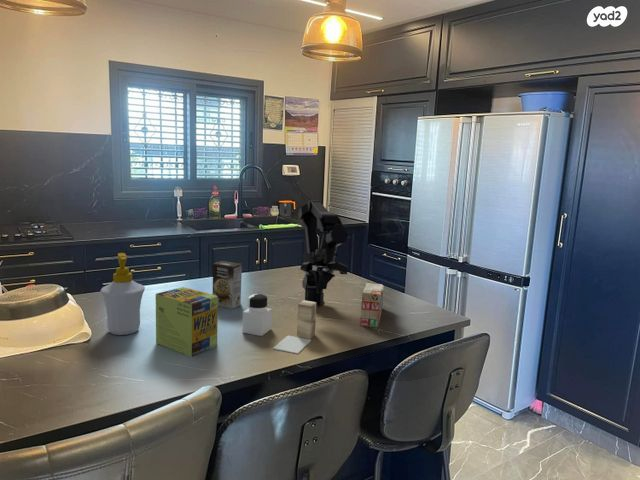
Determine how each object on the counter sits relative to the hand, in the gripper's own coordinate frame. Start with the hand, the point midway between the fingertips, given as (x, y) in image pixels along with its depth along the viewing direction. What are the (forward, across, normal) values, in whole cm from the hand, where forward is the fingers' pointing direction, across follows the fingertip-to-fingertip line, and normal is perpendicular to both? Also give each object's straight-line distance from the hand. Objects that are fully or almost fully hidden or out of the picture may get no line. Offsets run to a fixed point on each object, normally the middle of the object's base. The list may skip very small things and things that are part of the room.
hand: (318, 292), depth 160 cm
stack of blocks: (+2, +2, +26) cm, 26 cm away
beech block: (+15, +3, -3) cm, 16 cm away
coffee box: (+9, -37, -12) cm, 40 cm away
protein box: (+26, -12, -35) cm, 45 cm away
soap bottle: (+27, -32, -47) cm, 63 cm away
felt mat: (+19, +6, -10) cm, 22 cm away
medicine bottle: (+17, -9, -14) cm, 24 cm away
